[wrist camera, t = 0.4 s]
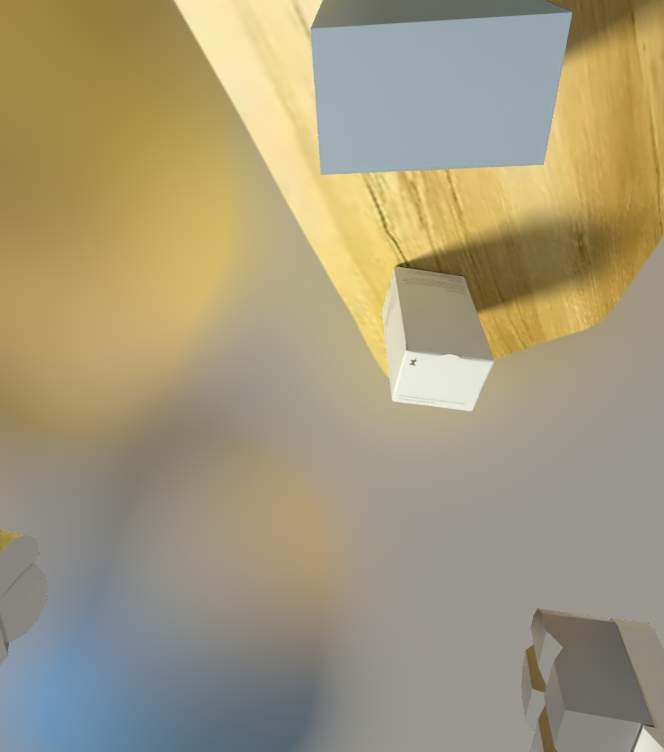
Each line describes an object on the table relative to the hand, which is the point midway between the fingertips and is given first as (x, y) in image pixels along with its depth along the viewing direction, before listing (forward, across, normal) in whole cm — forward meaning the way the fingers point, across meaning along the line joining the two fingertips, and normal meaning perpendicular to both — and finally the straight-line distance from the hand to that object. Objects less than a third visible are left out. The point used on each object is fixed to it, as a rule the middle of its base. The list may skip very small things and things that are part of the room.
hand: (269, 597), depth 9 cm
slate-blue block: (+47, +1, -14) cm, 49 cm away
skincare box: (+55, -2, +9) cm, 55 cm away
